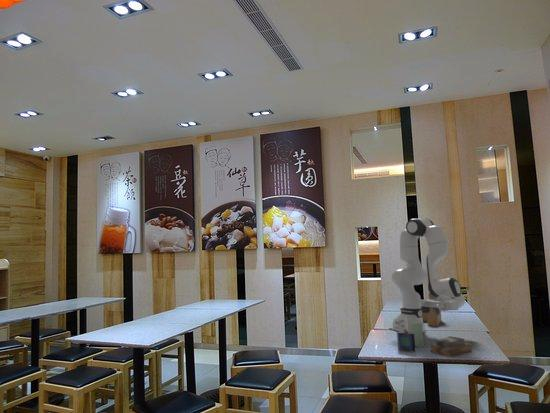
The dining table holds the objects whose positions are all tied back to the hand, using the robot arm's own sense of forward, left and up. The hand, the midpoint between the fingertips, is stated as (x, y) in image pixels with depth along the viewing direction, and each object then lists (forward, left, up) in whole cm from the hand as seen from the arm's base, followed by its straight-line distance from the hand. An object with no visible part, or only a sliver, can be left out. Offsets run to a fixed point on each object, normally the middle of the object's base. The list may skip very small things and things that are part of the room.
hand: (429, 305), depth 227 cm
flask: (+2, -24, -20) cm, 32 cm away
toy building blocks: (-35, +47, -20) cm, 62 cm away
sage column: (0, -12, -20) cm, 23 cm away
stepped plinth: (+18, -10, -20) cm, 29 cm away
